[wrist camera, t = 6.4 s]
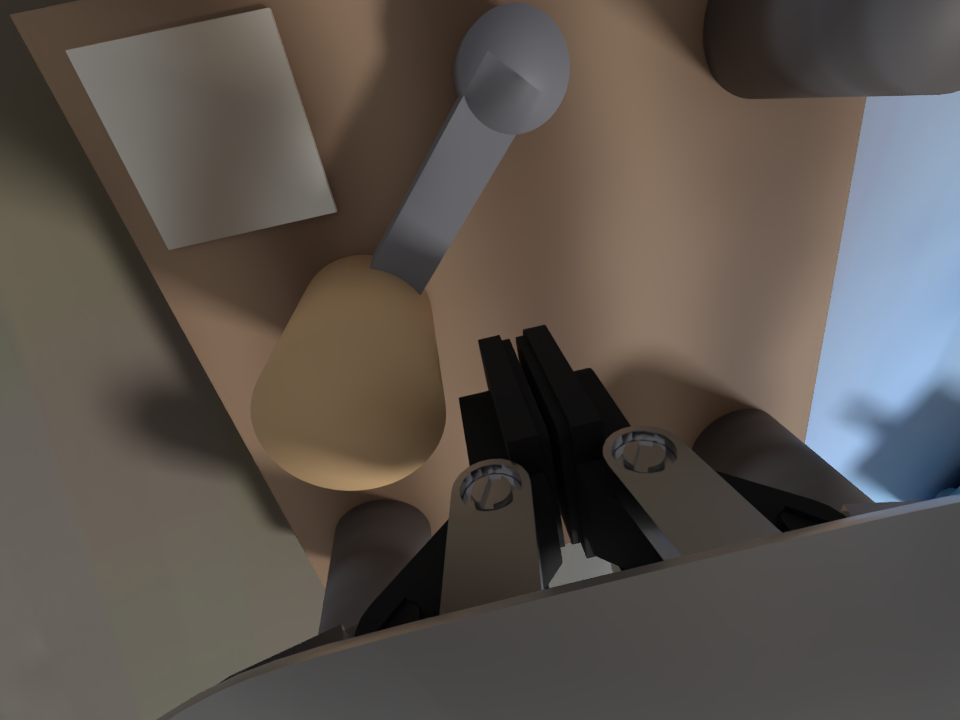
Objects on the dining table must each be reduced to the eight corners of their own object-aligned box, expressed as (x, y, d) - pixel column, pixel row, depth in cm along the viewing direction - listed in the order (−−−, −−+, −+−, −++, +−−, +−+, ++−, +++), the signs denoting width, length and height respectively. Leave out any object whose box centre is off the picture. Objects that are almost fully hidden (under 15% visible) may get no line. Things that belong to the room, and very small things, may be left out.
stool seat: (340, 544, 22) (312, 745, 15) (91, 33, 13) (-300, -58, 6) (751, 441, 23) (905, 589, 16) (813, -118, 13) (1273, -372, 6)
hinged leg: (466, -34, 10) (513, -140, 6) (593, 73, 11) (711, 53, 7) (280, 340, 13) (221, 452, 9) (395, 391, 15) (392, 511, 10)
